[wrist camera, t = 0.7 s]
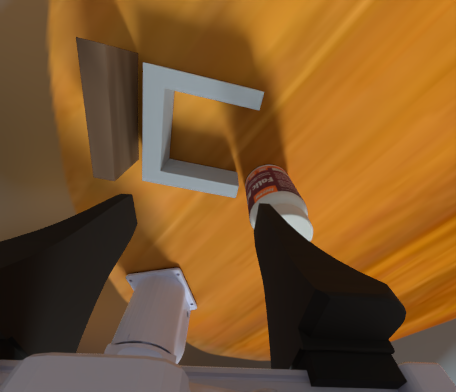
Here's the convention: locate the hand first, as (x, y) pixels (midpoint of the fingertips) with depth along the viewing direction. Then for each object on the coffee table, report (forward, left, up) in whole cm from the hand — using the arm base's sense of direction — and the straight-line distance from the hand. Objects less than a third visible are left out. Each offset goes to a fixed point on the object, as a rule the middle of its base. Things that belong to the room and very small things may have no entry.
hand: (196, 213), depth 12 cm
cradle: (+3, 0, -10) cm, 10 cm away
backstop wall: (+6, +6, -10) cm, 13 cm away
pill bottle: (-4, -5, -10) cm, 12 cm away
